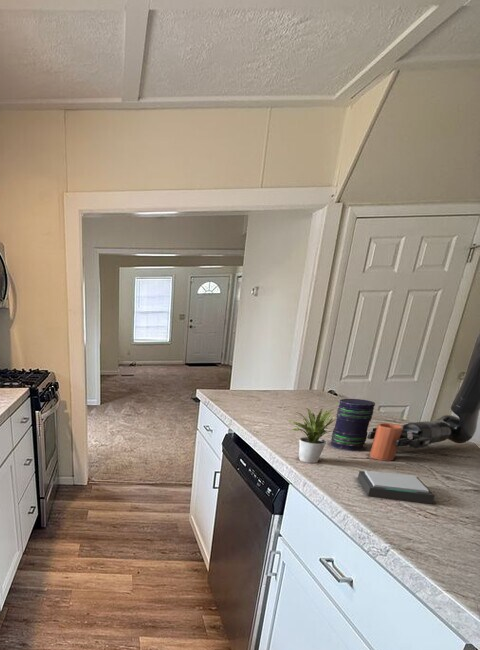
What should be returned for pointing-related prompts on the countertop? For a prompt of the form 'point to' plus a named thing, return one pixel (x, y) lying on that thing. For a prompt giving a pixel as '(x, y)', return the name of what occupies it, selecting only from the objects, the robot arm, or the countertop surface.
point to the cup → (385, 441)
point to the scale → (395, 486)
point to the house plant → (312, 436)
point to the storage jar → (352, 424)
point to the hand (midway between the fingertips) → (382, 439)
